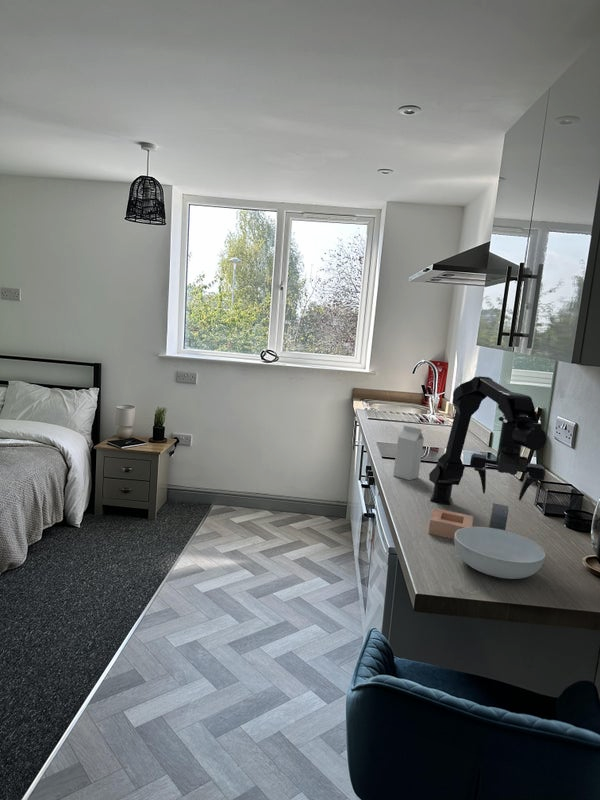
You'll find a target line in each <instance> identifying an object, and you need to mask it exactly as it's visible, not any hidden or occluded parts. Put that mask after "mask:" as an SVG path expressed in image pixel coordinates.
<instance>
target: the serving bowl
mask: <svg viewBox="0 0 600 800" xmlns="http://www.w3.org/2000/svg"><path fill="white" fill-rule="evenodd" d="M453 541H454V542H453V543H454V546H455V550H456V552H457V554H458V556H459V557H460V558H461V560H462V561H463V562H464V563H465V564H466V565H468V566H469V567H471V568H472V569H474V570H476V571H478V572H480V573H482V574H485V575H488V576H492V577H494V578H495V577H496V578H499V579H500V578H502V579H510V580H515V579H524V578H528V577H531V576H532V575H534V574H536V573H537V572H538V571H539V570H540V569H541V568H542V566H543V564H544V562H545V559H546V555H547V553H546V551H545V549H544V548H543V546H541V545H540V544H538V543H537V542H535V541H534V540H532V539H530V538H528V537H525V536H523V535H521V534H518V533H515V532H511V531H508V530H506V529H505V530H500V529H495V528H489V526H488V527H487V526H472V527H466V528H462V529H459V530H457V531H456V532H455V535H454V539H453Z"/></svg>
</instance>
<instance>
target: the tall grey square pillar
mask: <svg viewBox="0 0 600 800" xmlns="http://www.w3.org/2000/svg"><path fill="white" fill-rule="evenodd" d="M509 510H510V509H509V505H505V504H500V503H494V502H493V503H492V507H491V513H490V519H489V524H488V528H495V529H500V530H505V531H506V529H507V528H506V527H507V521H508V516H509V515H508V514H509Z"/></svg>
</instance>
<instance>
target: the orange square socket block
mask: <svg viewBox="0 0 600 800" xmlns="http://www.w3.org/2000/svg"><path fill="white" fill-rule="evenodd" d="M473 522H474V515H471V514H470V515H469V514H465V513H461V512H460V513H459V512H456V511H452V510H451V511H450V510H446V509H441V508H437V507H434V509H433V512H432V514H431V517H430V520H429V528H428V533H430V534H429V535H433V534H435V535H434V536H437V535H439V536H438V537H441V536H444V537H443V538H446V537H448V538H447V539H450V538H452V540H454V535H455V532H456V531H457V530H459V529H462V528H466V527H473Z"/></svg>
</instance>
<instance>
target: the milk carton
mask: <svg viewBox="0 0 600 800" xmlns="http://www.w3.org/2000/svg"><path fill="white" fill-rule="evenodd" d="M424 439H425V438H424V436H423V433H422V429H421V428H416V427H412V426H409V425H403V428H402V430H401V431H400V433H399V434H398V437H397V444H396V449H395V450H396V451H395V459H394V465H393V474H392V475H393V477H397V478H399V479H400V478H401V479H404V480H408V481H412V480H414V479H416V478H419V475H420V467H421V461H422V453H423V446H424V441H425V440H424Z"/></svg>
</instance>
